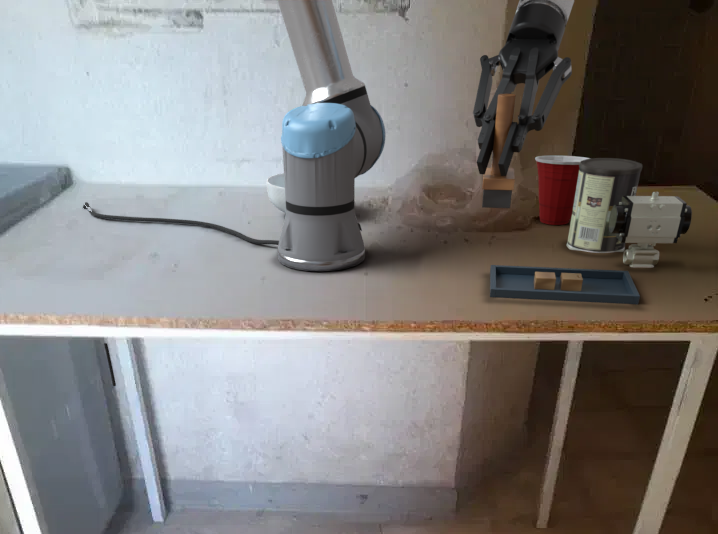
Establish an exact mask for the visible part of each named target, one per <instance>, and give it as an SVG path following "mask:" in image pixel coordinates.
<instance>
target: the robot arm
mask: <svg viewBox="0 0 718 534" xmlns="http://www.w3.org/2000/svg"><path fill="white" fill-rule="evenodd" d="M276 1H277V5H278V9H279V12H280V14H281V18H282V21H283V24H284V27H285V30H286V34H287V37H288V40H289V43H290V47H291V50H292V53H293V56H294V61H295V63H296V66H297V69H298V72H299V75H300V79H301V82H302V85H303V88H304V93H305V95H304V99H303V101H302V103H301V105H300V106H297V107H295V108H292V109H291V110H288V112H286V114H285V115H284V116H283V119H282V123H281V132H282V133H281V136H280V140H281V142H280V143H281V146H282V147H281V148H282V162H283V173H284V182H285V199H286V213H285V217H284V221H283V224H282V228H281V231H280V236H279V240H276V239H275V240H274V239H256V238H253V237H250V236H247V235H246V234H243V233H242V232H239V231H237V230H235V229H231V228H228V227H225V226H222V225H219V224H215V223H211V222H207V221H206V222H205V221H199V220H193V219H192V220H191V219H178V218H165V217H164V218H163V217H138V216H125V215H110V214H103V213H99V212H95V211H93V210H92V211H93V212H91V211H88V213H89V214H90V215H91V216H93V217H96V218H99V219H107V220H115V221H116V220H117V221H126V222H127V221H129V222H147V223H152V222H153V223H167V224H180V225H181V224H182V225H183V224H184V225H193V226H201V227H208V228H212V229H216V230H220V231H222V232H225V233H228V234H230V235H234V236H236V237H238V238H240V239H242V240H243V241H246V242H249V243H251V244H255V245H271V246H277V260H278V262H279V263H280V264H281V265H283V266H285V267H288V268H290V269H294V270H298V271H299V270H300V271H306V272H332V271H341V270H345V269H349V268H353V267H355V266H358V265H359V264H361V263H362V262H363V261H364V260H365V258H366V246H365V242H364V238H363V235H362V232H363V229H362V226H361V223H359V222H358V219H357V216H356V210H355V179H356V178H357V177H360V176H363V175H364V174H366V173H367V172H368V171H370V170H371V169H372V168H373V167H374V165H376V164H377V161H378V160H379V159H380V157H381V155H382V153H383V151H384V149H385V144H386V128H385V123H384V120H383V118H382V116H381V114H380V112H379V111H378V110H377V109H376V107H374V106H373V105H372V104H371V103H370V102H371V101H370V98H369V95H368V91H367V88H366V87H367V86H366V85H365V83H364V82H363V81H361V80H360V79H358V78H357V77H355V75H354V73H353V70H352V67H351V64H350V63H351V62H350V60H349V55H348V53H347V49H346V46H345V41H344V38H343V34H342V32H341V28H340V24H339V21H338V16H337V13H336V10H335V6H334V2H333V0H276ZM574 3H575V0H519V1H518V4H517V6H516V10H515V14H514V16H513V19H512V22H511V23H510V24H511V25H510V27H509V30H508V34H507V37H506V41H505V44H504V46H503V47H502V48H501V49H500V50H499V52H498V54H496V55H494V56H491V57H489V55H487V54H483V55H481V57H480V58H479V62H480V67H481V71H480V76H479V81H478V86H477V91H476V97H475V100H474V106H473V111H472V114H473V118H474V123H475V126H476V127H477V128H480V131H479V134H478V137H477V145H478V149H479V153H478V157H477V159H476V165H477V169H478V173H479V175H483V174H484V175H485V172H486V169H487V168H488V166H489V162H490V160H491V158H492V153H493V142H494V132H495V121H496V111H497V100H498V95H499V94H513V92H514V91H515V89H516V88H517V86H518V85H520V84H523V85H524V88H523V93H522V98H521V104H520V109H519V113H518V115H517V121H513V122H512V123H511V126H510V130H509V133H508V136H507V139H506V142H505V145H504V148H503V151H502V154H501V157H500V160H499V163H498V165H499V170H500V174H501V176H506V175H507V172H508V169H509V168H510V166H511V162H512V159H513V157H514V154H515V153H520V152H521V151H522V149H523V146H524V145H525V140H526V137H527V134H528V133H529V132H531V131H536V132H539V131H541V130H543V128H544V126H545V124H546V122H547V119H548V117H549V115H550V114H551V111H552V109H553V106H554V104H555V102H556V100H557V97H558V96H559V93H560V92H561V89H562V87H563V85H564V84H566V82H567V81H568V79H570V77H571V76H572V73H573V70H572V59H571V58H570V56H569V57H568V56H567V57H564V58H561V57H560V56H559V50H560V46H561V43H562V41H563V37H564V34H565V31H566V27H567V23H568V21H569V18H570V15H571V12H572V9H573V7H574ZM499 66H500V68H501V70H502V74H501V79H500V81H499V84H498V86H497V87H496V90H495V92H494V94H493V96H492V99H491V101H490V97H491V91H492V86H493V80H494V79H493V77H494V76H496V73H497V71H498V68H499ZM550 71H552V72H551V74H550V76H549V78H548V80H547V83H546V85H545V87H544V89H543V92H542V93H541V96H540V98H539V100H538V103H537V104H536V107H535V106H534V105H535V100H536V94H537V93H538V88H539V83H540V80H541V79H542V78H543V77H544V76H546V75H547V74H549V72H550ZM489 102H490V103H489ZM534 107H535V109H534ZM84 203H85V205H86V206H87V207H90V208H91V205H90V203H89V202H88V201H86V202H84ZM85 205H84V204H83V205H82V209H83V208H84V209H83V210H87V208H86V206H85ZM89 205H90V206H89ZM103 346H104V350H105V354H106V359H107V364H108V369H109V374H110V379H111V383H112V386H113V387H116V386H117V385H116V384H117V383H116V379H115V374H114V368H113V364H112V358H111V354H110V350H109V344H108V342H107V343H105V342H104V343H103Z"/></svg>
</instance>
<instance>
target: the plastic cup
mask: <svg viewBox="0 0 718 534" xmlns="http://www.w3.org/2000/svg"><path fill="white" fill-rule="evenodd" d="M534 159H535V161H536V166H537V167H536V169H537V175H538V177H537V178H538V179H537V181H538V207H539V211H538V212H539V213H538V215H539V222H540V223H542V224H545V225H551V226H562V225H563V226H564V225H568V224H570V221H571V217H572V211H573V205H574V199H575V193H576V187H577V180H578V174H579V163H580V162H581V161H583V160H586V159H591V158H590V157H584V156H575V155H538V156H536V157H535V158H534Z"/></svg>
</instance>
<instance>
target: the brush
mask: <svg viewBox="0 0 718 534" xmlns="http://www.w3.org/2000/svg"><path fill="white" fill-rule="evenodd" d="M516 96H517V95H516V94H514V93H511V94H499V95H498V100H497V111H496V121H495V132H494V142H493V151H492V154H491V163H490V164H491V165H490V167H487V169H486V172H485V175H484V174H482V187H481V189H482V200H481V201H482V202H481V208H484V209H485V208H486V209H511V204H512V194H513V191H514V190H515V183H516V182H515V181H516V178H515V177H516V176H515V168H514V167H509V169H508V172H507V175H506V176H501V174H500V170H499V165H498V163H499V160H500V157H501V154H502V151H503V148H504V145H505V142H506V139H507V136H508V133H509V130H510V126H511V123H512V122H514V115H515V106H516V99H517V98H516Z"/></svg>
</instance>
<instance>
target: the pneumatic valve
mask: <svg viewBox="0 0 718 534" xmlns="http://www.w3.org/2000/svg"><path fill="white" fill-rule="evenodd" d="M692 219H693V210H692V207H691V206H690V205H688V202H686V200H683V199H682V198H681V197H680V196H676V195H675V196H674V195H659V191H652V193H651V195H636V196H622V200H621V202H619V205H614V206H613V208H612V210H611V213H610V218H609V231H610V233H615V236H616V237H617V238H618V240H619V241H620V242H621V243H626V244H630V245H628V249H626V248H625V250H624V251H623V255H622V263H623V264H624V265H627V266H628V265H629V268H637V269H638V268H639V269H643V268H644V269H645V268H647V269H651V268H655V266H656V265H657V264H658V263H659V261H660V251H659V250H658V249H655V248H654V247H655V246H656V245H657V244H678V240H679V238H681V237H682V235H686V234H687V233H688V232H689V229H690V227H691V224H692Z"/></svg>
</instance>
